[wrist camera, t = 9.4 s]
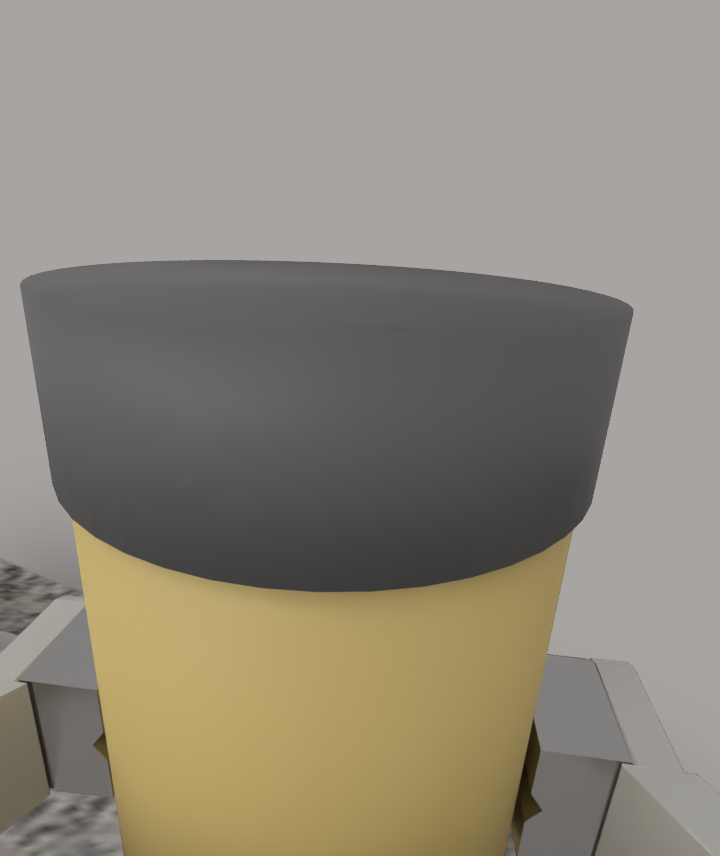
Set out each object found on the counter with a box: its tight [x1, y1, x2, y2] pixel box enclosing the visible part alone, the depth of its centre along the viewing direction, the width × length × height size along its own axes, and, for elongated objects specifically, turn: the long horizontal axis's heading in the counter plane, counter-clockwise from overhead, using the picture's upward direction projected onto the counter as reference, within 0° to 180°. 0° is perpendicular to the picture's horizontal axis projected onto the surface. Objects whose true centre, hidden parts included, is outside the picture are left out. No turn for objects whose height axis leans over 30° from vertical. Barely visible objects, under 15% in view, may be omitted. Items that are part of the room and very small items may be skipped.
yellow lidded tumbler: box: [20, 260, 633, 856], centre depth 7 cm, size 5×5×12 cm
